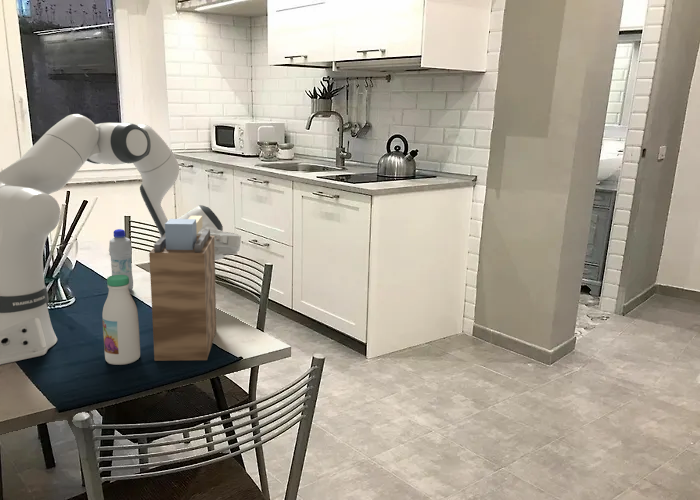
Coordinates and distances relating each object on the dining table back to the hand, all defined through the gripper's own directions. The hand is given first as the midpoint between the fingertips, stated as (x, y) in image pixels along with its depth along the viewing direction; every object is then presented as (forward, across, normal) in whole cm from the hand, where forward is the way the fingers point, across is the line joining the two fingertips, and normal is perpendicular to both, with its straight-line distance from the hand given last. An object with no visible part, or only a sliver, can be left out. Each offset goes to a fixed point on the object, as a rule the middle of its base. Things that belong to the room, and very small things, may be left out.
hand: (202, 236), depth 164 cm
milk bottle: (+23, -11, +33) cm, 42 cm away
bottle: (-23, -27, +17) cm, 39 cm away
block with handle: (+18, 0, +3) cm, 18 cm away
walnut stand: (+16, +2, +29) cm, 33 cm away
